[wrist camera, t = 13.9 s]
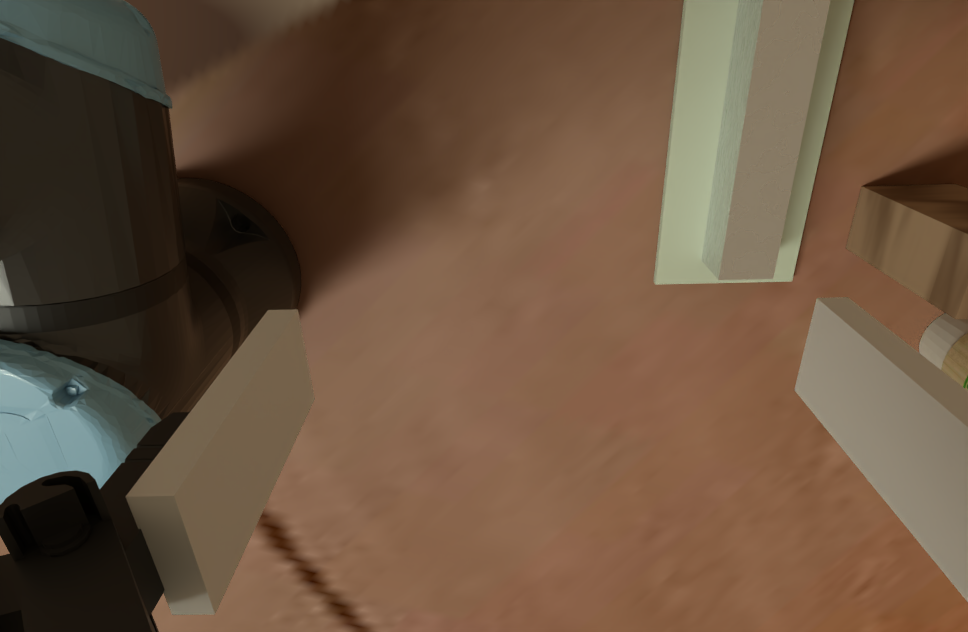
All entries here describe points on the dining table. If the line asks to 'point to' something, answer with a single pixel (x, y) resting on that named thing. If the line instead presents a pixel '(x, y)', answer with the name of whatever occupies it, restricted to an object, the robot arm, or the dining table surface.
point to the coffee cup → (947, 347)
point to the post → (917, 240)
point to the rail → (761, 133)
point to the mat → (698, 137)
